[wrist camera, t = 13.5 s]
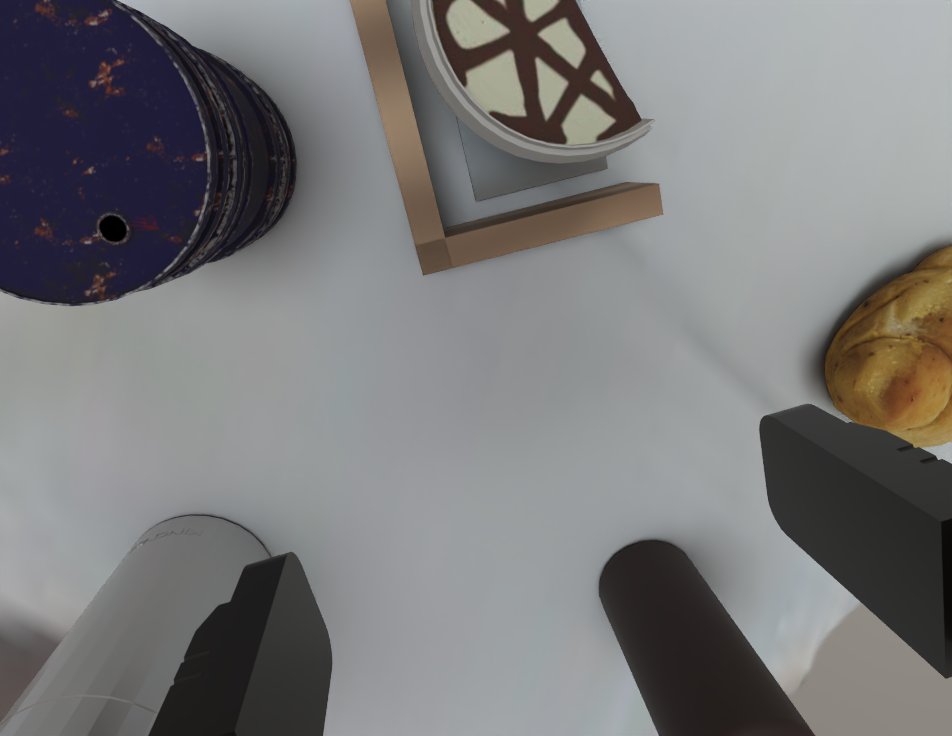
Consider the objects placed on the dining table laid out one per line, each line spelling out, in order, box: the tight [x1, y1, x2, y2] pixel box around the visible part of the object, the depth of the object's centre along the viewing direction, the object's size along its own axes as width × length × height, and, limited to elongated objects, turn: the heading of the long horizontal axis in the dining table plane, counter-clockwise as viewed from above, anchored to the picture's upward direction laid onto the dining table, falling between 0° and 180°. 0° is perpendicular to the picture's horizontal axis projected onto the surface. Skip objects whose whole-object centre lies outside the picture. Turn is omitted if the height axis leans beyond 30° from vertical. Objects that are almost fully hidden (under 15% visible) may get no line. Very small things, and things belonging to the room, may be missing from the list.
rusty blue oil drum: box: [0, 0, 297, 306], centre depth 26 cm, size 10×10×15 cm
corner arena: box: [350, 0, 663, 275], centre depth 30 cm, size 20×12×5 cm, turn 13°
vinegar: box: [599, 541, 815, 736], centre depth 34 cm, size 7×7×20 cm
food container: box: [411, 0, 655, 164], centre depth 28 cm, size 12×6×10 cm, turn 36°
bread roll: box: [825, 246, 952, 448], centre depth 36 cm, size 13×10×8 cm
